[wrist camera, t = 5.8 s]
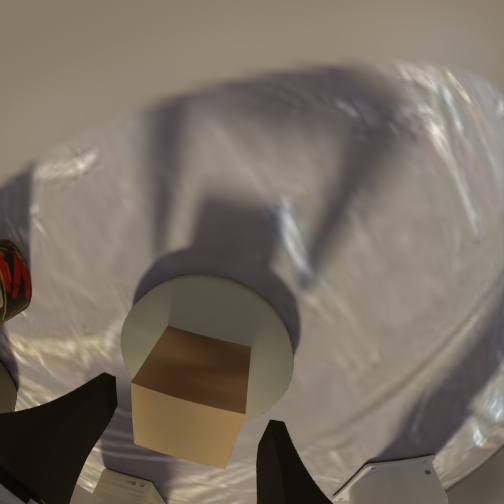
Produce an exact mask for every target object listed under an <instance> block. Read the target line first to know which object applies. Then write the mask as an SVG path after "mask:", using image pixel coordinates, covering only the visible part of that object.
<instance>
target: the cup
mask: <svg viewBox="0 0 504 504" xmlns="http://www.w3.org/2000/svg"><path fill="white" fill-rule="evenodd" d="M16 400H17V391H16V387H15V385H14V382H13V380H12V378H11V376H10V374H9V373H8V371H7V370H6V368H5V367H4V366H3V364H2V363H1V362H0V413H8V412H14V411H15V405H16Z"/></svg>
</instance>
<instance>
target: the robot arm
mask: <svg viewBox="0 0 504 504" xmlns="http://www.w3.org/2000/svg"><path fill="white" fill-rule="evenodd" d="M116 407H117V392H116V377H115V376H112V375H110V374H108V373H105V372H104V373H102V374H100V375H98V376H97V377H95V378H94V379H92V380H90V381H89V382H87V383H85V384H84V385H82V386H80V387H79V388H77V389H75V390H73V391H71V392H70V393H68V394H66V395H64V396H62V397H59V398H57V399H55V400H53V401H51V402H48V403H46V404H43V405H40V406H37V407H33V408H29V409H25V410H21V411H15V412H8V413H0V504H69V503H70V500H71V496H72V494H73V491H74V488H75V485H76V482H77V480H78V477H79V475H80V473H81V470H82V468H83V466H84V464H85V461H86V459H87V457H88V455H89V454H90V452H91V450H92V449H93V447H94V446H95V444H96V443H97V441H98V439H99V438H100V436H101V435H102V433H103V432H104V430H105V429H106V427H107V425H108V424H109V422H110V420H111V418H112V416H113V414H114V412H115V410H116ZM434 459H435V455H430V456H424V457H419V458H413V459H406V460H399V461H391V462H381V463H370V464H367V465H365V466H364V467H363V468H362V469H361V470H360V471H359V472H358V473H357V474H356V475H355V476H354V477H353V478H352V479H351V480H350V481H349V482H348V483H347V484H346V485H345V486H344V487H343V488H342V489H341V490H340V491H339V492H338V493H337V494H336V495H335V496H333V497H332V500H333V501H343V500H349V504H448V498H447V495H446V493H445V490H444V488H443V486H442V484H441V482H440V480H439V477H438V475H437V473H436V471H435V469H434V467H433V465H432V463H431V462H432V461H433V460H434ZM256 474H257V504H333V503H332V502H331V501H330V500H329V499H328V498H327V497H326V496H325V494H324V493H323V492H322V491H321V490H320V488H319V487H318V486H317V484H316V483H315V482H314V480H313V479H312V477H311V476H310V474H309V473H308V471H307V469H306V468H305V466H304V464H303V463H302V461H301V459H300V457H299V455H298V453H297V451H296V449H295V447H294V445H293V443H292V440H291V438H290V436H289V433H288V431H287V428H286V425H285V423H284V422H283V421H276V420H270V421H269V423H268V425H267V428H266V430H265V432H264V434H263V436H262V438H261V440H260V442H259V444H258V452H257V461H256Z"/></svg>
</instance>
